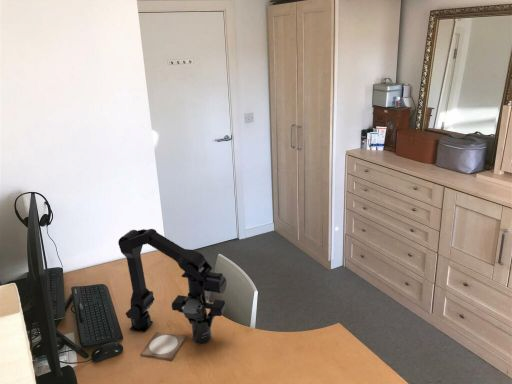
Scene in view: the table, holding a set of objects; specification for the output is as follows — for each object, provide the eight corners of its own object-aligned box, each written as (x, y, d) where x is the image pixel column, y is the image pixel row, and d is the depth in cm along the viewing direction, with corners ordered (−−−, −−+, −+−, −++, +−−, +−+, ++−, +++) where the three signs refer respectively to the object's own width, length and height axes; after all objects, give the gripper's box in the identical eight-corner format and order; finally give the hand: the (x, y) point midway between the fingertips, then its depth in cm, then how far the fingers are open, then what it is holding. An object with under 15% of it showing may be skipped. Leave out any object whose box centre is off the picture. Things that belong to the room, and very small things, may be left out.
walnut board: (140, 355, 156) (140, 353, 155) (156, 333, 166) (156, 331, 166) (172, 361, 152) (171, 358, 152) (186, 338, 163) (185, 335, 163)
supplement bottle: (208, 345, 159) (205, 317, 154) (190, 344, 160) (187, 316, 156) (214, 333, 165) (211, 306, 161) (196, 331, 166) (193, 304, 162)
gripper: (162, 298, 150) (167, 336, 156) (214, 304, 145) (217, 343, 151) (176, 280, 160) (180, 316, 166) (225, 285, 155) (228, 323, 161)
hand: (201, 325), depth 160 cm, fingers closed on supplement bottle, 7 cm apart
